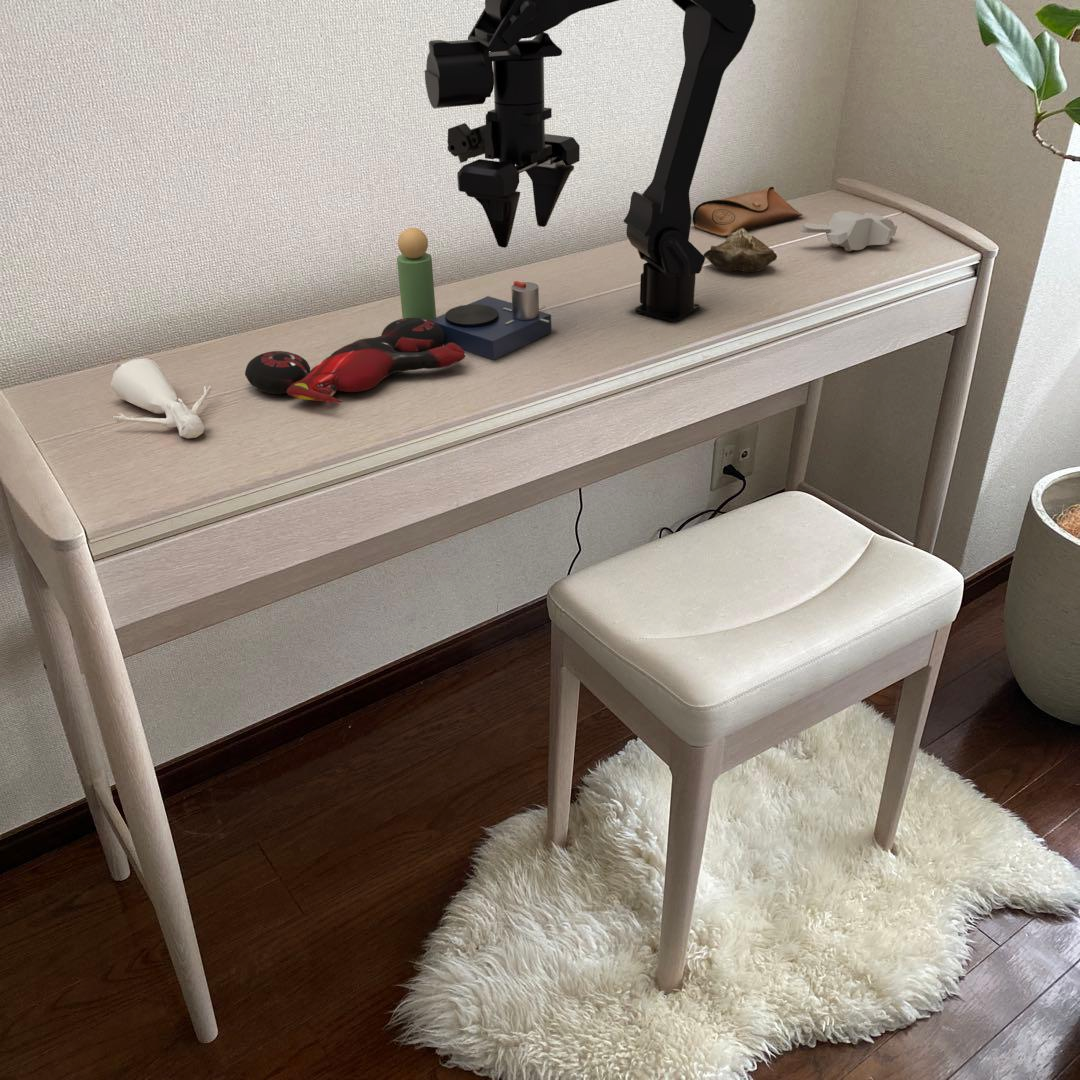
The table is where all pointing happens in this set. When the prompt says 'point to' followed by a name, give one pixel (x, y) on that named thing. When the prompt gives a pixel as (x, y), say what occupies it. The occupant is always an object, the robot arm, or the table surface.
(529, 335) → the hot plate
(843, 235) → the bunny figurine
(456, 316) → the burner plate
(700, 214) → the sunglasses case
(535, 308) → the stove knob
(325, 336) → the table surface
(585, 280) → the table surface
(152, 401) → the woman figurine
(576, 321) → the table surface
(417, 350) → the toy motorcycle
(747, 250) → the fossilized seashell
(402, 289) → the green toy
